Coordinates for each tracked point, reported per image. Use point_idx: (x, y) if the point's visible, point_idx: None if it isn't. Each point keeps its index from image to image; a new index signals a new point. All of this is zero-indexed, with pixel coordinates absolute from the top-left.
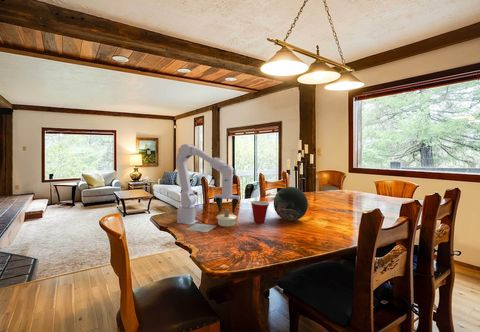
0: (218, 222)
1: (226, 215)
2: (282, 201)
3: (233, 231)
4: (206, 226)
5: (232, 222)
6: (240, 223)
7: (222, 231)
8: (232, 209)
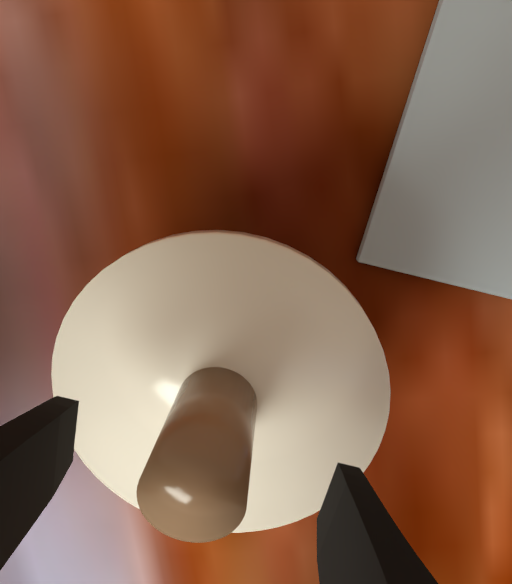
0: None
1: (210, 381)
2: None
3: (91, 53)
4: (503, 207)
5: None
6: None
7: (245, 29)
8: (26, 432)
